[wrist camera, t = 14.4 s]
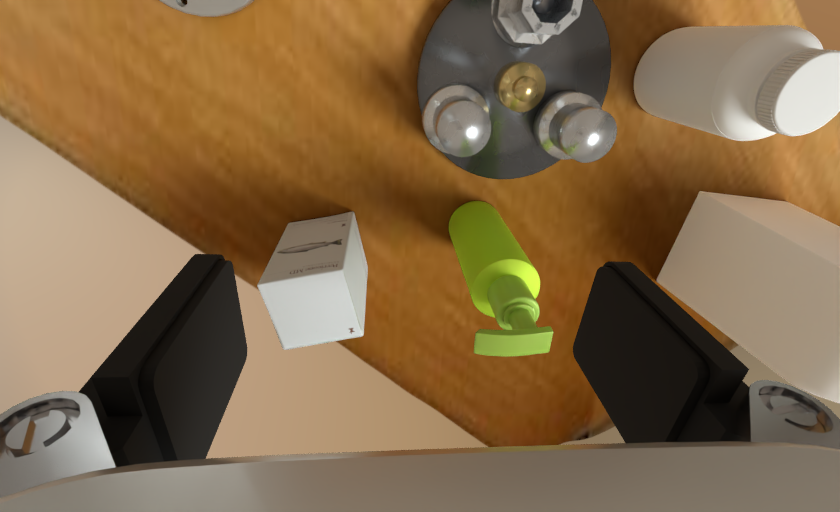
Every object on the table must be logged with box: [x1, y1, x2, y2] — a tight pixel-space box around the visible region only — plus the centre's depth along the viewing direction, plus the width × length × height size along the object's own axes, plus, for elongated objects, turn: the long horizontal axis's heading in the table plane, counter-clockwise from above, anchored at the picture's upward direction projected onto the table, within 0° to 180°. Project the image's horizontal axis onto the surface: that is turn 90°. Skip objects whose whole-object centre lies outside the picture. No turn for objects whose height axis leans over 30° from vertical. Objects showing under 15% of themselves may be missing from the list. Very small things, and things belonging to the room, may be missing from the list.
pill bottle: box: [634, 25, 840, 141], centre depth 33 cm, size 8×8×15 cm
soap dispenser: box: [449, 201, 553, 356], centre depth 37 cm, size 6×7×20 cm
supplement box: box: [257, 212, 368, 350], centre depth 40 cm, size 7×7×13 cm
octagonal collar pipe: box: [492, 0, 583, 44], centre depth 32 cm, size 6×6×6 cm
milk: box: [656, 191, 840, 404], centre depth 38 cm, size 12×12×26 cm
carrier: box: [417, 0, 617, 179], centre depth 36 cm, size 18×18×7 cm
